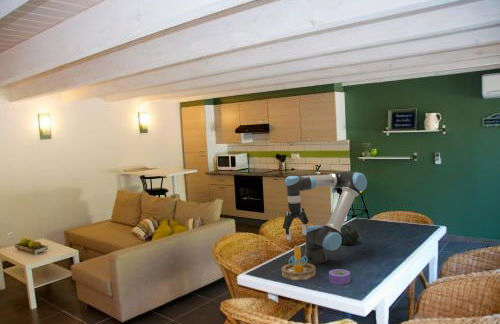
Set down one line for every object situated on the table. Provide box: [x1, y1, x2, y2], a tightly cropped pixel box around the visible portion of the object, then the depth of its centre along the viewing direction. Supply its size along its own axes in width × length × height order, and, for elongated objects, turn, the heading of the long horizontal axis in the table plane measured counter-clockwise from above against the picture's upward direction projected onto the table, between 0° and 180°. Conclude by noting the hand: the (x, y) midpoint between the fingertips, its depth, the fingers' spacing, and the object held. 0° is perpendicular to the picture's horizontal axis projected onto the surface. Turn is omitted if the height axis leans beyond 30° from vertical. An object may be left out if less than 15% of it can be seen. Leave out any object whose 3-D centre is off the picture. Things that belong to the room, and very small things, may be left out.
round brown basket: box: [281, 262, 317, 281], centre depth 251 cm, size 20×20×4 cm
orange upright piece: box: [288, 245, 308, 273], centre depth 251 cm, size 12×10×15 cm
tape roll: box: [328, 268, 351, 286], centre depth 236 cm, size 12×12×5 cm
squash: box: [340, 224, 360, 246], centre depth 307 cm, size 14×15×15 cm
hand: (296, 237), depth 250 cm, fingers open, 13 cm apart
